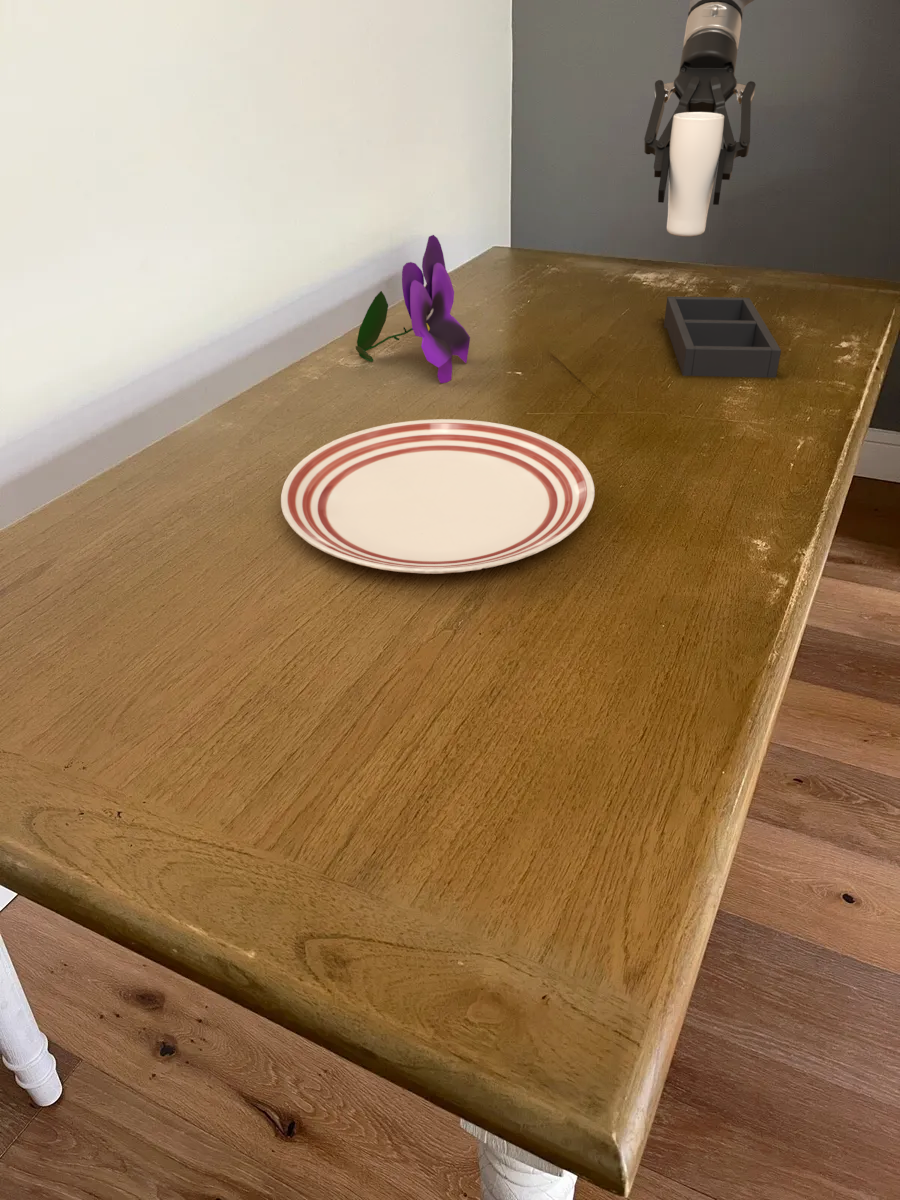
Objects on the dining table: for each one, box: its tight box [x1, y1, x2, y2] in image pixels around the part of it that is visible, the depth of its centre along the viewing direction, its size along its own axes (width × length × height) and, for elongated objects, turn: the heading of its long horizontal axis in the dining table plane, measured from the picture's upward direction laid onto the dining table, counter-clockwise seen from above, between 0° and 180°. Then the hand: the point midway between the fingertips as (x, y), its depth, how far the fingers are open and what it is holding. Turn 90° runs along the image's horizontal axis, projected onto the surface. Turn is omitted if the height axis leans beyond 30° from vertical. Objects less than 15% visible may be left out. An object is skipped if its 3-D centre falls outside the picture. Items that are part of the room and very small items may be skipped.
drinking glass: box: [666, 112, 724, 238], centre depth 131 cm, size 7×7×15 cm
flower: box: [355, 234, 471, 384], centre depth 114 cm, size 15×15×14 cm
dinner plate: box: [280, 418, 596, 575], centre depth 85 cm, size 27×27×3 cm
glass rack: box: [663, 296, 782, 378], centre depth 117 cm, size 10×20×5 cm, turn 175°
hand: (688, 197), depth 129 cm, fingers closed on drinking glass, 7 cm apart
